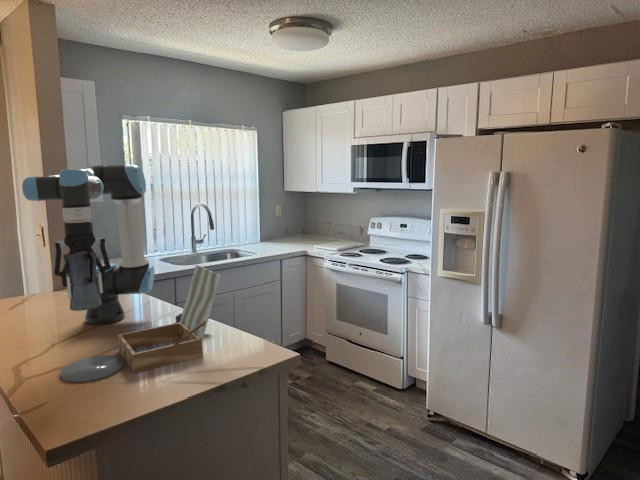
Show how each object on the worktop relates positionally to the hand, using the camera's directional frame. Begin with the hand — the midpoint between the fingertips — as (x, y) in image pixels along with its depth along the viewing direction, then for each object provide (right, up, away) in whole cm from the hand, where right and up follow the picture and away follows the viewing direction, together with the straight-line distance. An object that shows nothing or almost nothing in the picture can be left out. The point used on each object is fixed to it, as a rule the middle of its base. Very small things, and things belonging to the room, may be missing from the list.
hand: (85, 294), depth 143 cm
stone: (+22, -19, +37) cm, 47 cm away
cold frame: (+21, -22, +18) cm, 35 cm away
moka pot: (0, -4, +1) cm, 5 cm away
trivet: (+1, -24, +4) cm, 24 cm away
